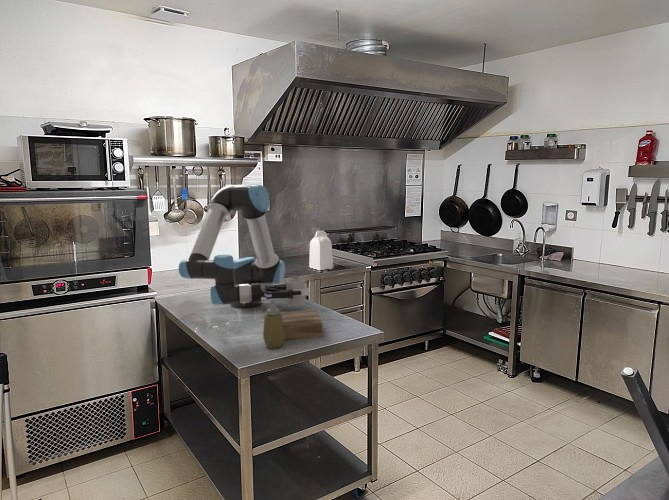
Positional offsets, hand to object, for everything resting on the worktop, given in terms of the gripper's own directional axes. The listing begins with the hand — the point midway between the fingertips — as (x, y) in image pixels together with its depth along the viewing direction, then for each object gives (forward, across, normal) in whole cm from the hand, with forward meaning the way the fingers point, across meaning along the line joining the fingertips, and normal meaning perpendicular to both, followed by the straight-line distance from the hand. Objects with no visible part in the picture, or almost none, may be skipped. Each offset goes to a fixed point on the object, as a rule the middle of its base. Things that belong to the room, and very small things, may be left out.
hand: (307, 289), depth 194 cm
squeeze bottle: (-15, +15, -18) cm, 28 cm away
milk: (+25, -128, -17) cm, 132 cm away
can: (-5, 0, -7) cm, 8 cm away
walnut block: (-5, 0, -17) cm, 18 cm away
